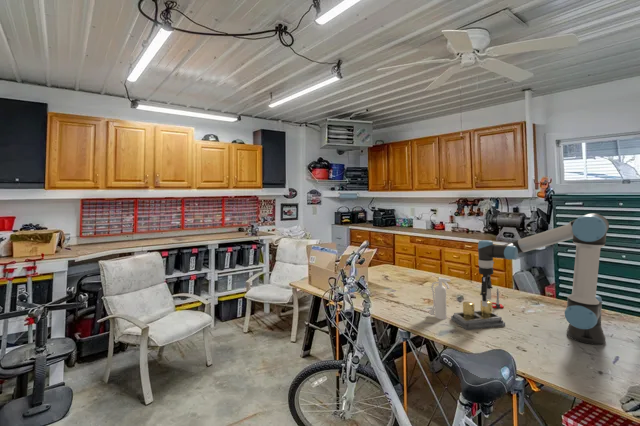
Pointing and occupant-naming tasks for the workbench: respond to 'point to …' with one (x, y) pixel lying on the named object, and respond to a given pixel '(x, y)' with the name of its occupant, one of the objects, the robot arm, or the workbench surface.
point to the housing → (475, 318)
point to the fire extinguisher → (439, 299)
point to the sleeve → (486, 310)
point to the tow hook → (497, 302)
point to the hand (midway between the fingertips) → (486, 302)
